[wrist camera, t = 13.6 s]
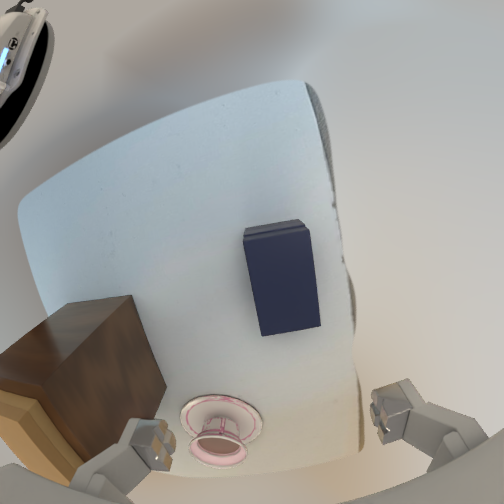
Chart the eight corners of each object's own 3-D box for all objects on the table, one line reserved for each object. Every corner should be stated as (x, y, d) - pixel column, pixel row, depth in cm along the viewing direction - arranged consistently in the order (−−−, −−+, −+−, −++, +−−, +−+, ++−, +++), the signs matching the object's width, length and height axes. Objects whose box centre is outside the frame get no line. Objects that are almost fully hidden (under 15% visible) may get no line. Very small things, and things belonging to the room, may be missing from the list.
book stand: (67, 303, 32) (-21, 371, 14) (131, 294, 31) (41, 385, 13) (104, 386, 35) (50, 469, 17) (167, 387, 34) (125, 492, 16)
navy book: (243, 236, 25) (242, 241, 23) (305, 225, 25) (309, 229, 23) (261, 326, 27) (261, 336, 25) (316, 316, 27) (320, 326, 25)
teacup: (254, 448, 37) (253, 478, 31) (179, 436, 37) (172, 464, 31) (270, 400, 34) (271, 433, 28) (181, 386, 34) (170, 417, 28)
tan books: (-6, 387, 14) (-23, 404, 11) (37, 399, 14) (17, 422, 11) (52, 465, 17) (42, 482, 14) (103, 481, 16) (93, 503, 13)
